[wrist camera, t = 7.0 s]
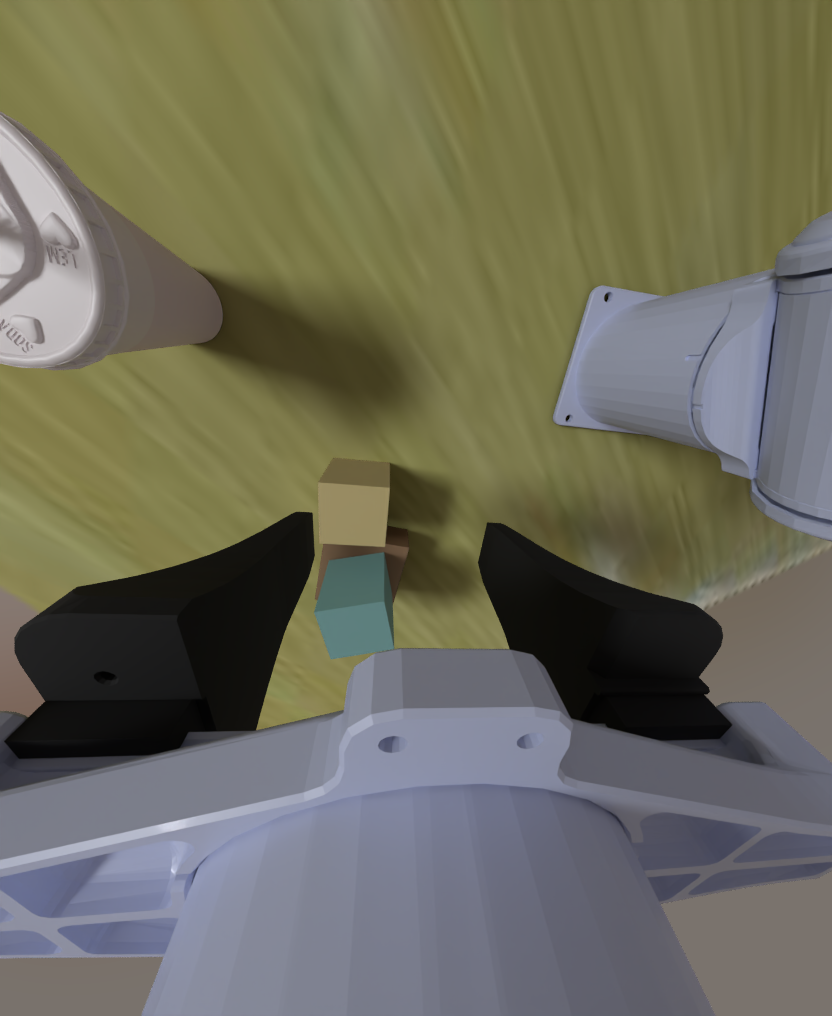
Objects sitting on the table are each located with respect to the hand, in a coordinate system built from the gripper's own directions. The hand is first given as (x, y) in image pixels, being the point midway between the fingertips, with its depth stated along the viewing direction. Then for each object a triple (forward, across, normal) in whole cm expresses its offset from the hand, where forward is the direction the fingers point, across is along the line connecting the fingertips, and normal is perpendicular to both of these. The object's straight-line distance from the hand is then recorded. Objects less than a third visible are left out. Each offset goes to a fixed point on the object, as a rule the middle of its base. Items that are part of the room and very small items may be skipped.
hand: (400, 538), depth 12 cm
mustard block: (+10, +2, +2) cm, 11 cm away
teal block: (+8, +2, +8) cm, 11 cm away
